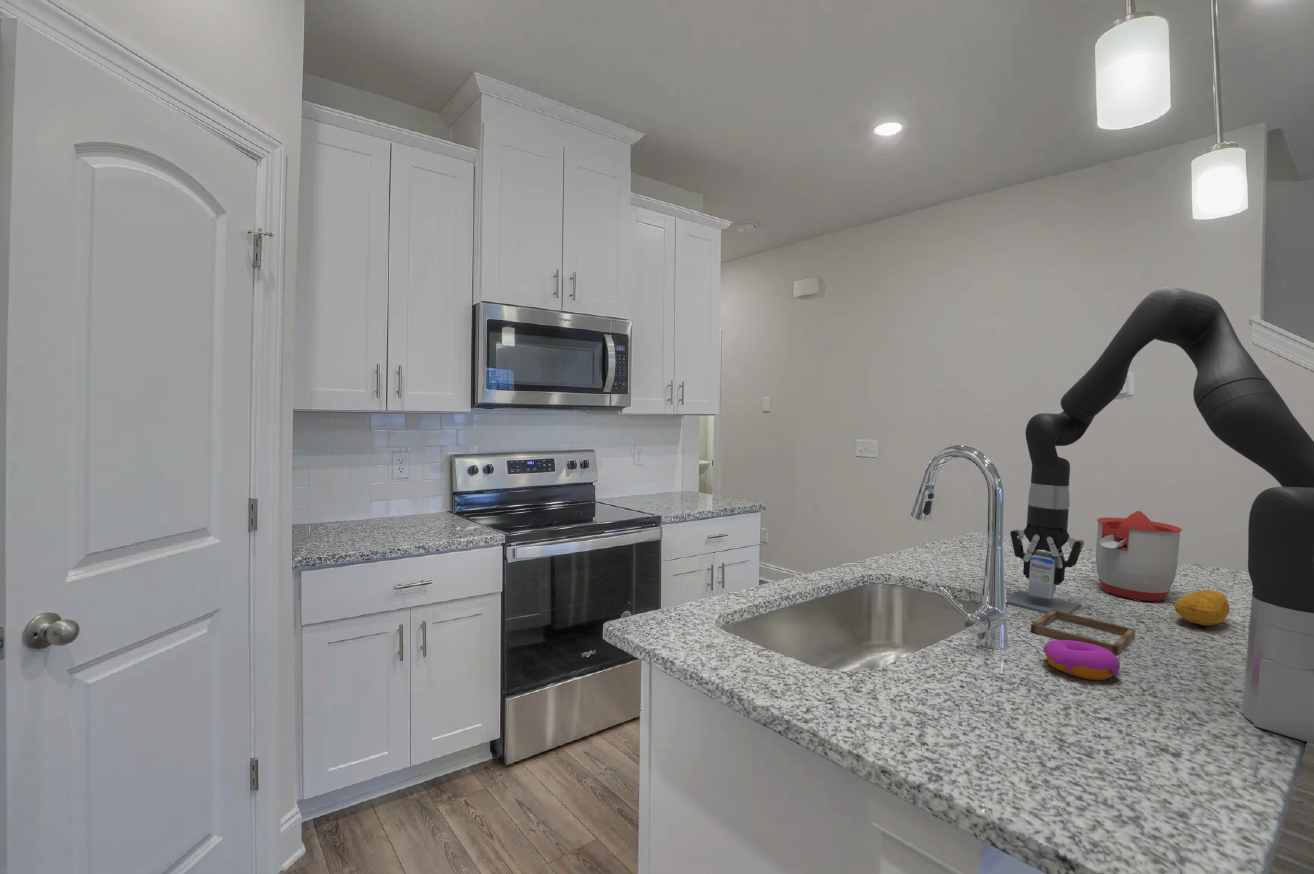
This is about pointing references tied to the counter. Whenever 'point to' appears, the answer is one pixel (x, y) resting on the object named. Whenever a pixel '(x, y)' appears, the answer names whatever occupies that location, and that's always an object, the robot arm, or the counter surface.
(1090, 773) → the counter surface
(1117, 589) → the citrus juicer
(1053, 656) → the donut
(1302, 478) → the robot arm
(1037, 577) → the medicine box
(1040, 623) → the walnut cradle
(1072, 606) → the slate mat
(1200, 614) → the potato
